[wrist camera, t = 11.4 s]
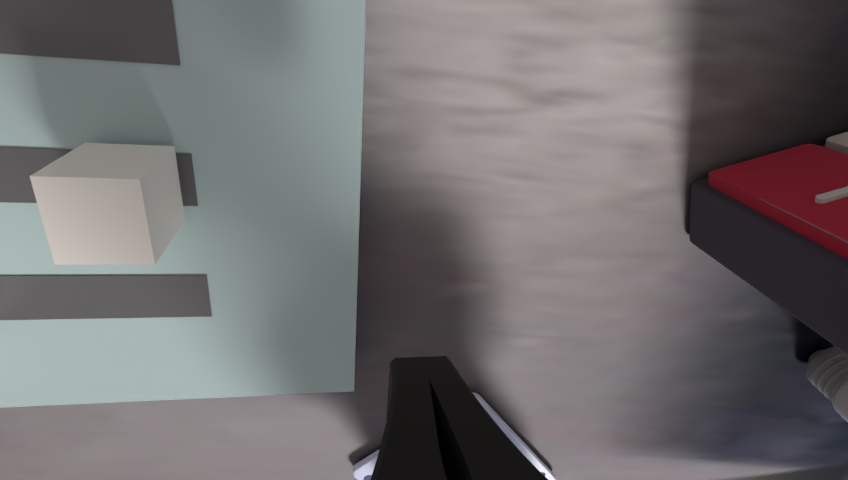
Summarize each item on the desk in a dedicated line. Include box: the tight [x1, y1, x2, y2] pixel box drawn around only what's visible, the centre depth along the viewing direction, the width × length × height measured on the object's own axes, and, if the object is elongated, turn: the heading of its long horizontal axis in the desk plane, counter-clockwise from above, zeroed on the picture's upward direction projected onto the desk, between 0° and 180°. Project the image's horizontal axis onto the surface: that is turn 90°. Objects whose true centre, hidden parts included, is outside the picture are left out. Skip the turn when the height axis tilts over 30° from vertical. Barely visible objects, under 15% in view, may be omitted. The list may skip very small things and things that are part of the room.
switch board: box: [0, 0, 366, 407], centre depth 17 cm, size 20×16×2 cm
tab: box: [30, 143, 185, 265], centre depth 14 cm, size 2×2×3 cm
